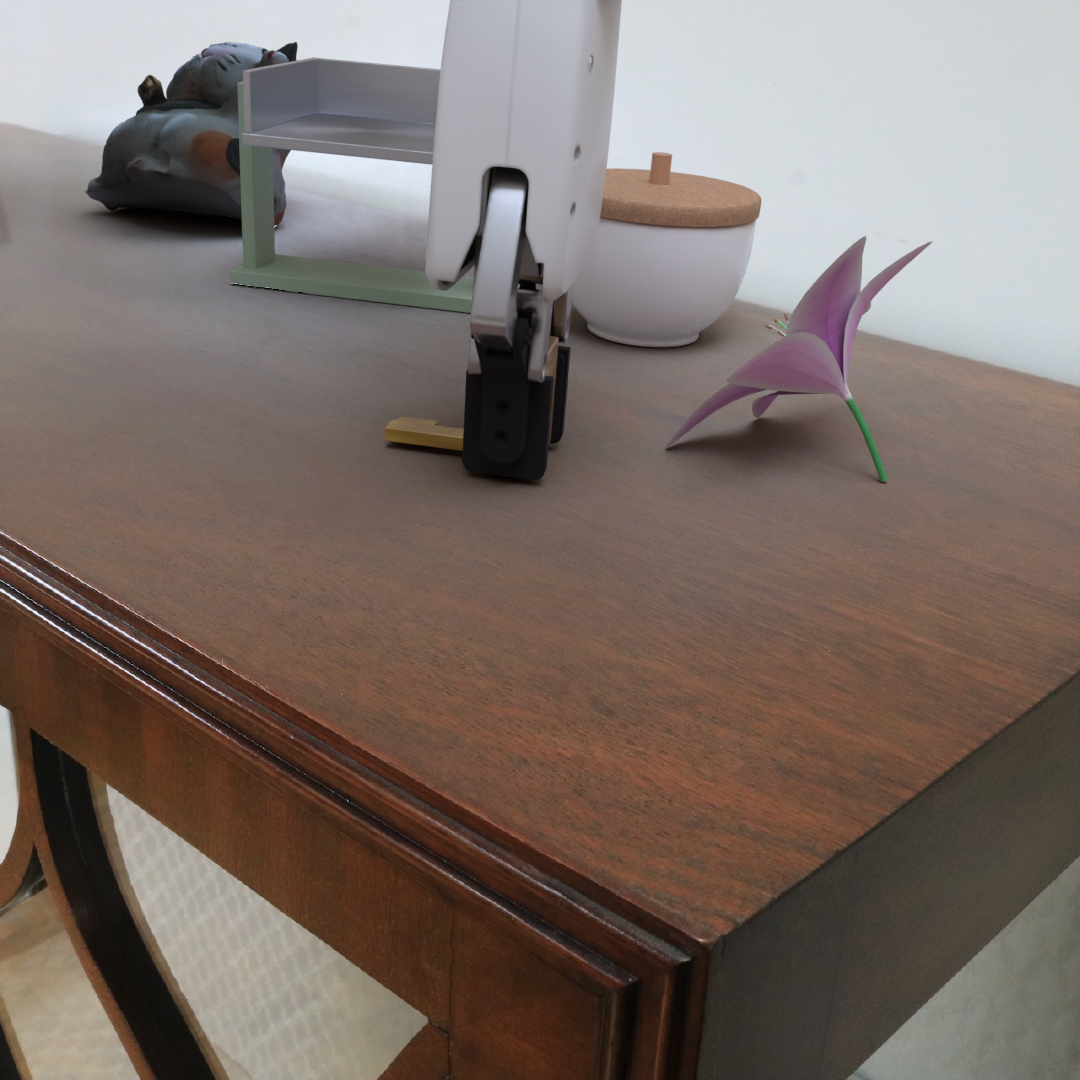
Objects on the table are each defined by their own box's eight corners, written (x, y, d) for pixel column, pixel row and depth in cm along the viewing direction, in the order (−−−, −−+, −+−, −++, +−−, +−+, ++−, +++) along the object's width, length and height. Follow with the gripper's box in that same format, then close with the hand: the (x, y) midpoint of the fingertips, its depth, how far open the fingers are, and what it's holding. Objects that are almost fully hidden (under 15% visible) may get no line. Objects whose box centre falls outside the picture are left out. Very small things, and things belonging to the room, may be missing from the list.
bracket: (262, 265, 74) (258, 75, 70) (508, 294, 72) (520, 101, 68) (229, 284, 70) (222, 83, 65) (490, 315, 68) (502, 110, 63)
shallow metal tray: (356, 107, 81) (357, 49, 79) (518, 123, 79) (521, 64, 78) (241, 145, 64) (239, 71, 62) (444, 166, 62) (447, 90, 61)
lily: (884, 433, 58) (815, 240, 56) (1069, 421, 47) (991, 180, 45) (673, 539, 55) (593, 336, 53) (821, 552, 44) (726, 296, 42)
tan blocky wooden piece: (550, 450, 50) (559, 336, 48) (536, 479, 47) (545, 359, 45) (398, 430, 51) (401, 317, 49) (375, 457, 48) (377, 338, 46)
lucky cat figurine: (68, 201, 86) (123, 13, 87) (229, 264, 93) (280, 88, 93) (120, 174, 74) (185, -46, 74) (303, 249, 80) (361, 46, 81)
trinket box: (684, 302, 74) (705, 139, 70) (778, 356, 65) (807, 173, 61) (517, 307, 70) (528, 135, 66) (591, 365, 61) (610, 170, 57)
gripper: (490, -62, 49) (469, 381, 57) (364, -75, 34) (359, 525, 42) (679, -47, 48) (630, 402, 56) (633, -54, 33) (576, 556, 41)
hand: (514, 450), depth 49 cm, fingers closed on tan blocky wooden piece, 3 cm apart
